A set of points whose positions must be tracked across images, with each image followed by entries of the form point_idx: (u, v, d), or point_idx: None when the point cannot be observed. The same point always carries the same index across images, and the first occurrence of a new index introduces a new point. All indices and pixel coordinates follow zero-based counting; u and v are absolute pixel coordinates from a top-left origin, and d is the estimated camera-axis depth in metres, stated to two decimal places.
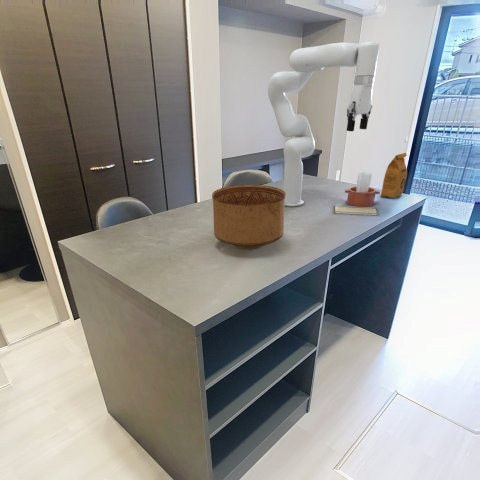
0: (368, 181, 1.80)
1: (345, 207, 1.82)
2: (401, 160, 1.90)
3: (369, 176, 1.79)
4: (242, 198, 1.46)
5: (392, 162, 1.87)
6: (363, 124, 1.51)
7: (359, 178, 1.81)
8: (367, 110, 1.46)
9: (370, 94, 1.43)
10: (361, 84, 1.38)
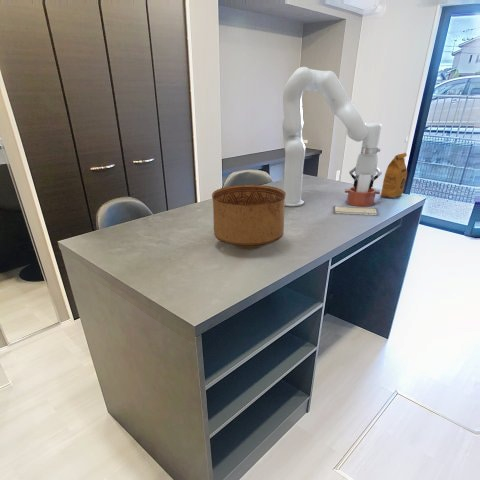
0: (368, 181, 1.80)
1: (345, 207, 1.82)
2: (401, 160, 1.90)
3: (369, 176, 1.79)
4: (242, 198, 1.46)
5: (392, 162, 1.87)
6: None
7: (359, 178, 1.81)
8: (370, 173, 1.78)
9: (373, 161, 1.75)
10: (361, 153, 1.75)
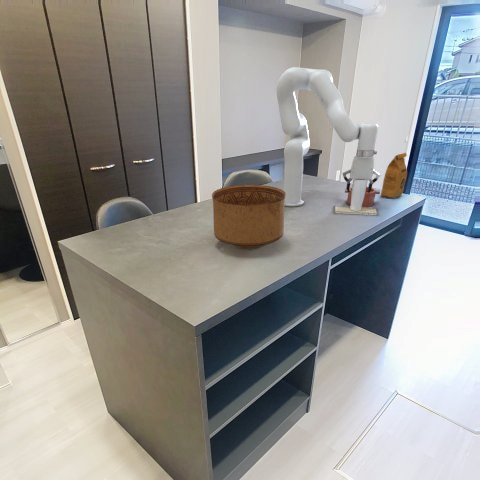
0: (364, 187, 1.69)
1: (345, 207, 1.82)
2: (401, 160, 1.90)
3: (365, 182, 1.67)
4: (242, 198, 1.46)
5: (392, 162, 1.87)
6: (368, 188, 1.71)
7: (354, 184, 1.69)
8: (366, 177, 1.67)
9: (369, 165, 1.63)
10: (356, 156, 1.63)
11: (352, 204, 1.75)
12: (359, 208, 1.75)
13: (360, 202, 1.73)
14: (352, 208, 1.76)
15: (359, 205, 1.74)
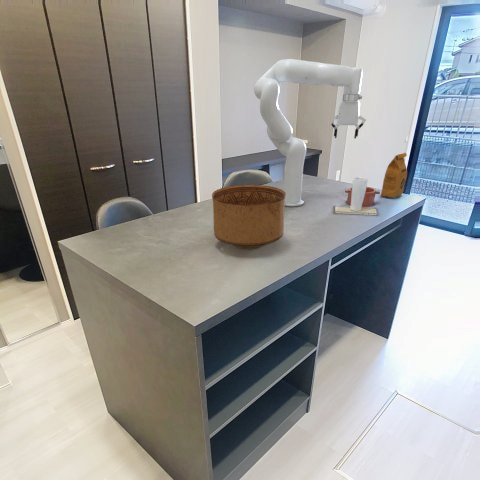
0: (364, 187, 1.69)
1: (345, 207, 1.82)
2: (401, 160, 1.90)
3: (365, 182, 1.67)
4: (242, 198, 1.46)
5: (392, 162, 1.87)
6: None
7: (354, 184, 1.69)
8: (352, 122, 1.74)
9: (354, 109, 1.71)
10: (342, 101, 1.71)
11: (352, 204, 1.75)
12: (359, 208, 1.75)
13: (360, 202, 1.73)
14: (352, 208, 1.76)
15: (359, 205, 1.74)
